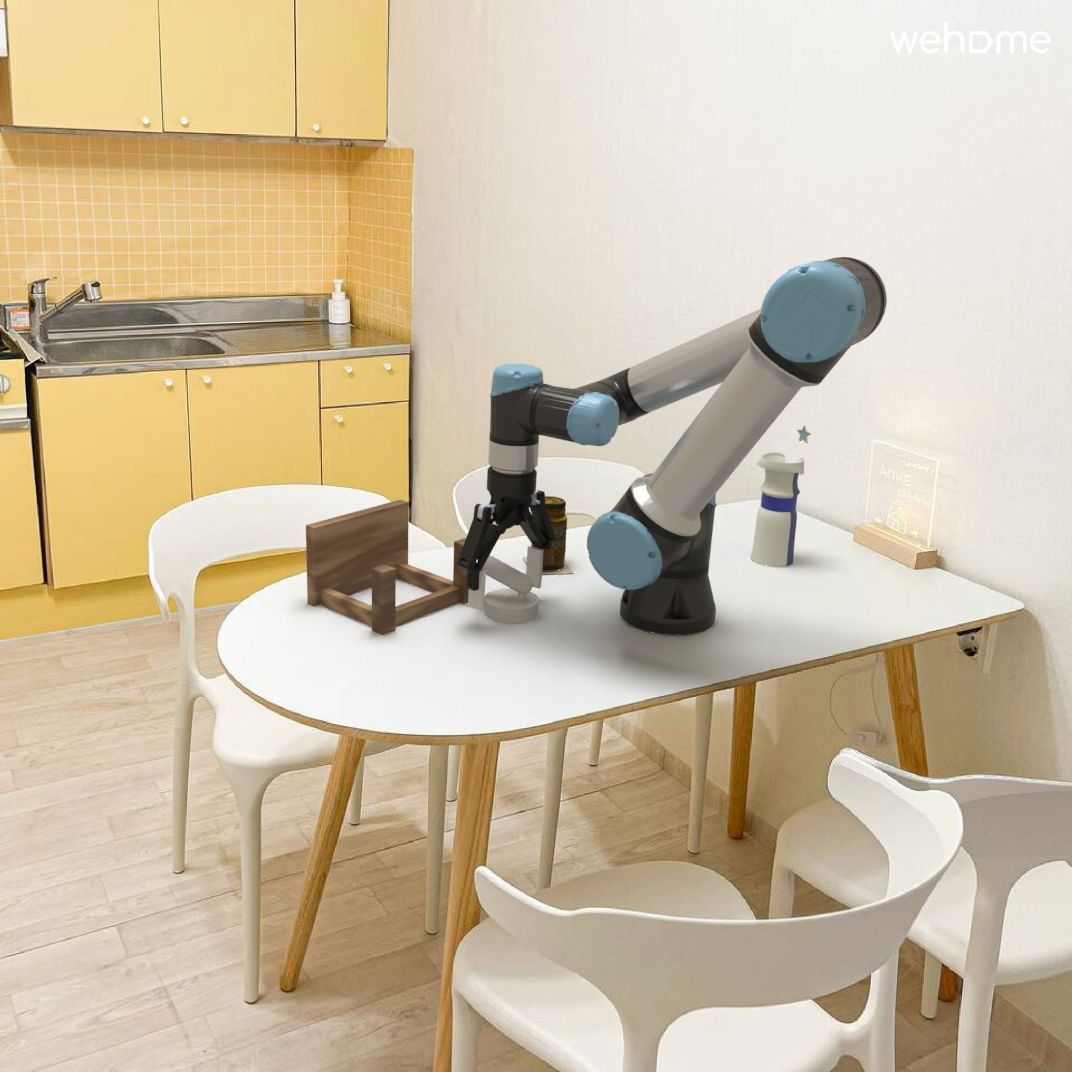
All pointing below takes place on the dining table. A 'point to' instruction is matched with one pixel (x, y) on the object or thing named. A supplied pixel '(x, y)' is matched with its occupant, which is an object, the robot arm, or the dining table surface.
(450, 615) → the dining table surface
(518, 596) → the wall hook
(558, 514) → the condiment
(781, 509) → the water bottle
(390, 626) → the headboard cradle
